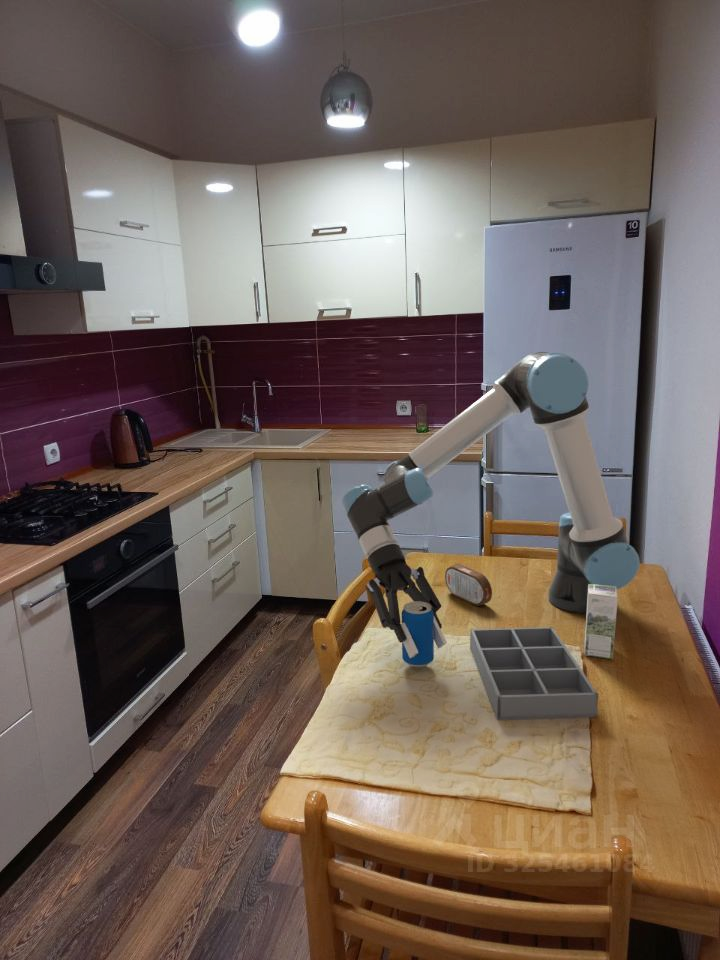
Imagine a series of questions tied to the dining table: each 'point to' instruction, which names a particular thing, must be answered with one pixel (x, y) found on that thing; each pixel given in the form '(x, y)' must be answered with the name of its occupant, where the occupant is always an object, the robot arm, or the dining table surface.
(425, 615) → the beverage can
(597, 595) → the syrup box
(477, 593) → the tin
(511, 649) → the can crate
